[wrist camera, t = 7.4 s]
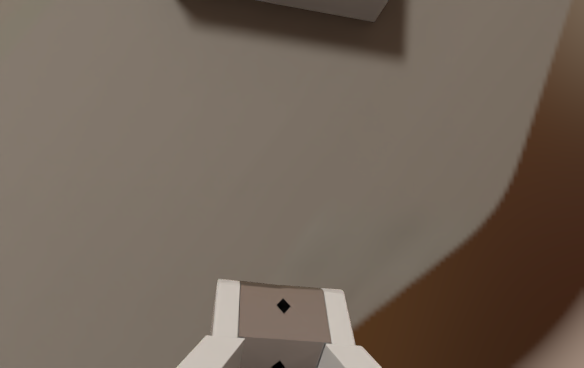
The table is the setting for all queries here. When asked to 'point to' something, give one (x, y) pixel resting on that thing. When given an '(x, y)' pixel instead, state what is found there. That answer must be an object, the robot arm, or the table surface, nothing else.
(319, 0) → the tile
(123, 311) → the table surface
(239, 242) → the table surface
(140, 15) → the table surface
